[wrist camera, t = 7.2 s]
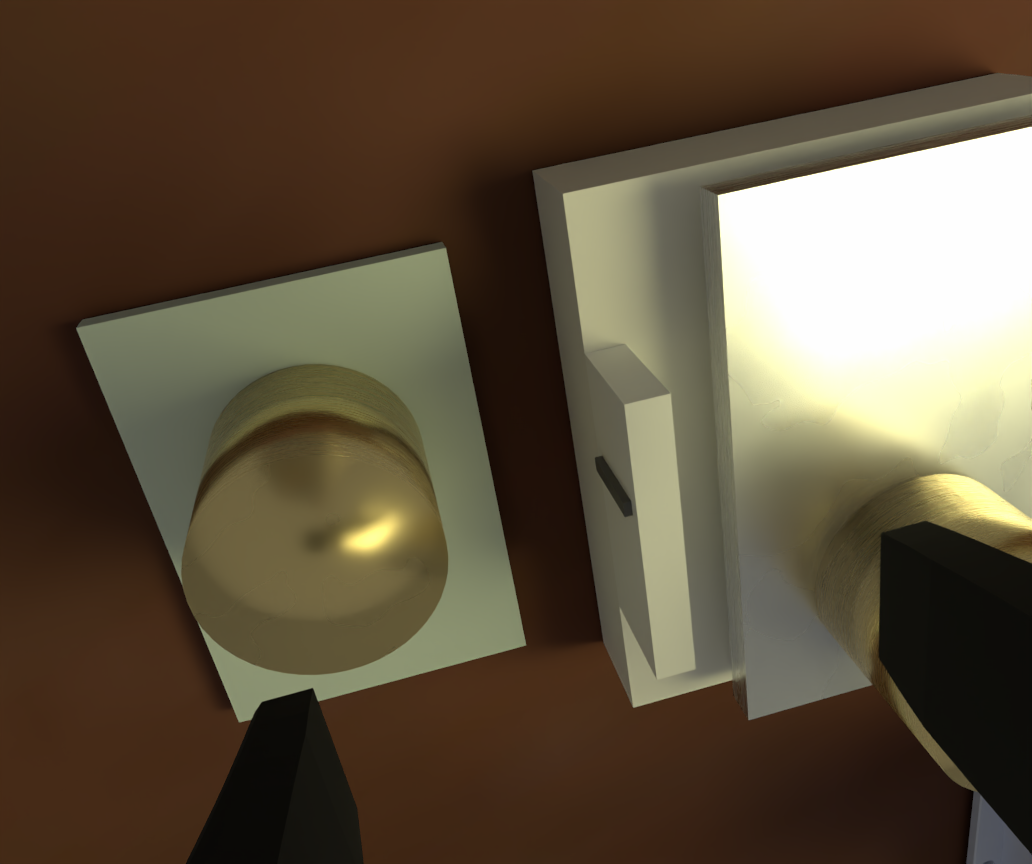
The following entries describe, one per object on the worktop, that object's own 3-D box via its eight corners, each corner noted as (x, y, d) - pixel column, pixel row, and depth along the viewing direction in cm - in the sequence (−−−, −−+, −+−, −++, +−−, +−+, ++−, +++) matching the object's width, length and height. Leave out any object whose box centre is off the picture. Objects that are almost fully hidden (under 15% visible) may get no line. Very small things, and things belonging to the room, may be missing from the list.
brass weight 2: (998, 622, 20) (1145, 755, 17) (815, 673, 20) (926, 821, 16) (1018, 451, 18) (1191, 560, 15) (814, 503, 18) (942, 630, 14)
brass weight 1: (440, 526, 20) (467, 641, 16) (242, 572, 19) (225, 700, 16) (401, 343, 18) (422, 429, 14) (178, 389, 17) (143, 491, 14)
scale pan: (1017, 595, 22) (1059, 631, 21) (722, 678, 21) (748, 720, 20) (1076, 95, 17) (1138, 103, 15) (685, 179, 16) (717, 195, 14)
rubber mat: (522, 632, 22) (526, 645, 22) (240, 707, 22) (238, 722, 21) (442, 242, 18) (445, 247, 17) (82, 319, 17) (75, 327, 17)
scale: (959, 546, 24) (1098, 662, 20) (598, 644, 23) (662, 789, 19) (997, 73, 19) (1200, 94, 14) (524, 172, 18) (593, 227, 13)
